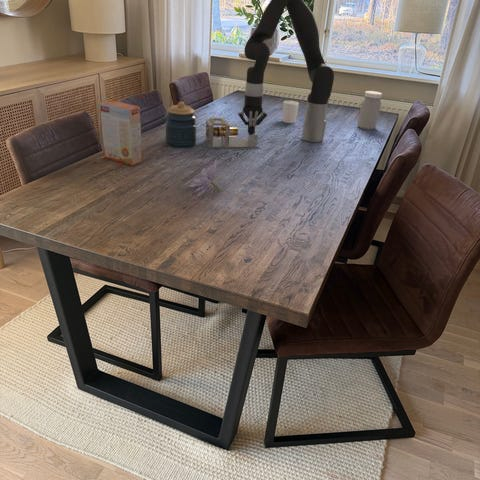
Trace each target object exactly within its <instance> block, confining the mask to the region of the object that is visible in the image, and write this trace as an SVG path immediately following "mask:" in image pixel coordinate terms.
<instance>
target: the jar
mask: <svg viewBox="0 0 480 480" xmlns="http://www.w3.org/2000/svg"><path fill="white" fill-rule="evenodd" d="M382 96H383V93H382V92H380V91H376V90H366V91H365V93H364V97H363V100H362V101H361V105H360V110H359V115H358V119H357V124H356V125H357V127H358V128H359V129H362V130H368V131H372V130H374V129H375V128H376V127H377V122H378V119H379V115H380V110H381V106H382V101H381V98H382Z"/></svg>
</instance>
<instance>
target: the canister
mask: <svg viewBox="0 0 480 480" xmlns="http://www.w3.org/2000/svg"><path fill="white" fill-rule="evenodd" d="M166 109H167V113H165V115H164V117H165V118H166V120H165V143H166V145H168V146H169V147H172V148H179V149H186V148H188V149H189V148H193V147H194V146H195V145H196V142H197V123H196V119H197V114H195V112H196V110H195V109H194V108H192V106H189V105H186V104H185V102H183V101H178V103H177V104H174V105H171V106H169V107H168V108H166Z"/></svg>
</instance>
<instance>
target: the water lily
mask: <svg viewBox="0 0 480 480" xmlns="http://www.w3.org/2000/svg"><path fill="white" fill-rule="evenodd" d="M217 160H218V159H217V158H216V159H215V160H214V162H213V164H210V165H209V167H208V169H207V168H205V167H203V168H202V169H201V172H200V173H201V176H202V178H199V177H197V178H194V179H193V181H194V182H192V184H190V185H189V186H188V187H190V188H197V187H198V188H197V189H195V191H194V193H196V192H198V193H197V195H196V197H197V196H198V198H199V197H200V196H202V195H203V194H204V193H205V192H206V190H208V188H209V187H210V185H212V186H213V187H214V188H215V190H216V191H217V192H218V193H220V192H221V190H220V189H219V188H218V186H216V184H214V183H213V180H214V179H215V178H216V177H217V174H218V171H219V168H220V165H218V164H217V162H218V161H217ZM217 165H218V166H217Z"/></svg>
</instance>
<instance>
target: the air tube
mask: <svg viewBox="0 0 480 480" xmlns="http://www.w3.org/2000/svg"><path fill="white" fill-rule="evenodd" d="M206 134H207V137H209V127H207V129H206V128H205V135H206ZM238 136H239V129H238V127H237V126H230V135H229V138H230V137H231V138H232V137H233V138H234V137H235V138H236V137H238ZM214 137H216V138H221V137H225V127H222V126H214V128H213V138H214Z"/></svg>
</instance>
